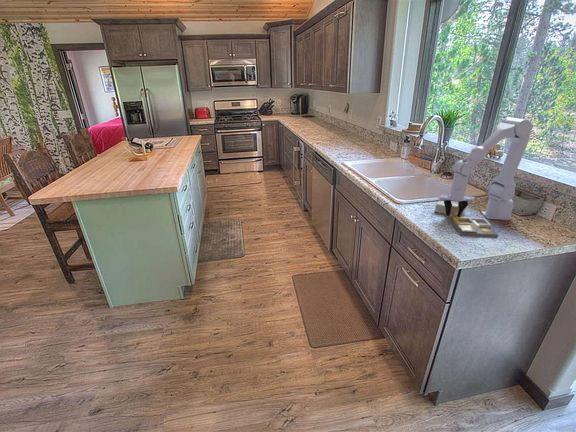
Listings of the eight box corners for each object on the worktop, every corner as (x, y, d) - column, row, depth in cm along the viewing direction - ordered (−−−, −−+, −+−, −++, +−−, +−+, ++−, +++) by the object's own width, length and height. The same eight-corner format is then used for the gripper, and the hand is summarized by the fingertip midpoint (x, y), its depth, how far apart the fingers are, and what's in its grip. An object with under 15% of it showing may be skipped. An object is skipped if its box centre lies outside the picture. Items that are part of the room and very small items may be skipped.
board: (483, 223, 135) (484, 218, 134) (497, 237, 123) (498, 231, 122) (449, 221, 137) (450, 216, 136) (460, 235, 125) (461, 230, 124)
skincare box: (439, 200, 150) (466, 205, 143) (437, 208, 152) (464, 213, 145) (435, 203, 146) (464, 209, 139) (434, 212, 148) (462, 218, 141)
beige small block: (454, 217, 142) (457, 205, 139) (457, 220, 138) (460, 208, 136) (445, 216, 142) (448, 204, 140) (448, 220, 139) (451, 208, 136)
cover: (473, 226, 129) (474, 220, 127) (477, 232, 124) (479, 225, 123) (457, 226, 130) (459, 219, 128) (462, 231, 125) (463, 224, 124)
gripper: (472, 185, 137) (465, 213, 142) (438, 184, 139) (433, 211, 144) (479, 190, 130) (471, 219, 136) (443, 189, 132) (437, 217, 138)
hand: (452, 215), depth 140 cm, fingers closed on beige small block, 4 cm apart
